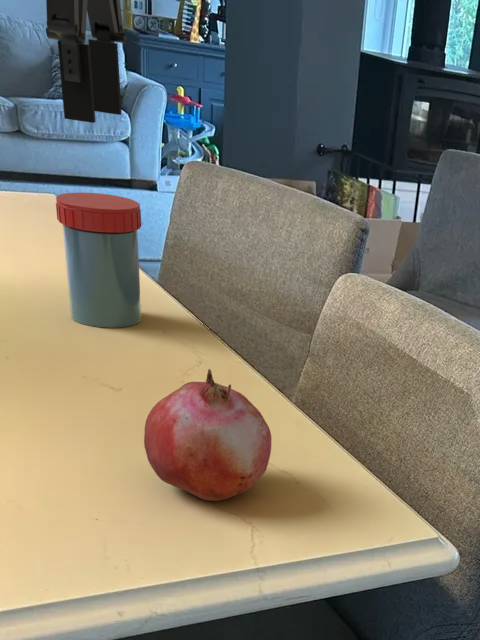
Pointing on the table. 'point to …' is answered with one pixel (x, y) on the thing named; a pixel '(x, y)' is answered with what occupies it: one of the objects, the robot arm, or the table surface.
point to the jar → (103, 277)
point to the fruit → (207, 440)
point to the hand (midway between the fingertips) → (94, 116)
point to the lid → (98, 212)
